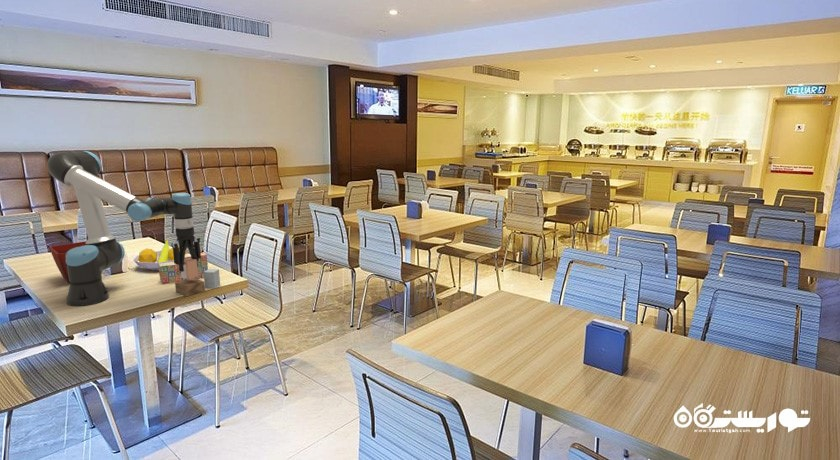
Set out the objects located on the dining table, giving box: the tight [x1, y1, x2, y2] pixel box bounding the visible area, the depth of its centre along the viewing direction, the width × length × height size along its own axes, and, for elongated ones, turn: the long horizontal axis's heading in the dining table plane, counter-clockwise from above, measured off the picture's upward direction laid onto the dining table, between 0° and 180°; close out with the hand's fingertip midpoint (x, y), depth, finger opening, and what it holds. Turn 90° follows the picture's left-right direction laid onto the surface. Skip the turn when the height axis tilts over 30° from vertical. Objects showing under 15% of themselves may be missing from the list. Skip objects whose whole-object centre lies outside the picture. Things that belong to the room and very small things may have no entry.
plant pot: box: [49, 240, 103, 284], centre depth 233 cm, size 19×19×17 cm
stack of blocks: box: [158, 251, 209, 285], centre depth 235 cm, size 21×6×12 cm, turn 125°
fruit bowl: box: [132, 239, 190, 271], centre depth 257 cm, size 28×27×11 cm
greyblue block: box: [203, 268, 221, 289], centre depth 226 cm, size 5×5×8 cm
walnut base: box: [174, 278, 206, 297], centre depth 219 cm, size 9×9×5 cm
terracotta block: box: [184, 258, 198, 279], centre depth 217 cm, size 5×5×8 cm
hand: (189, 276), depth 218 cm, fingers closed on terracotta block, 5 cm apart
